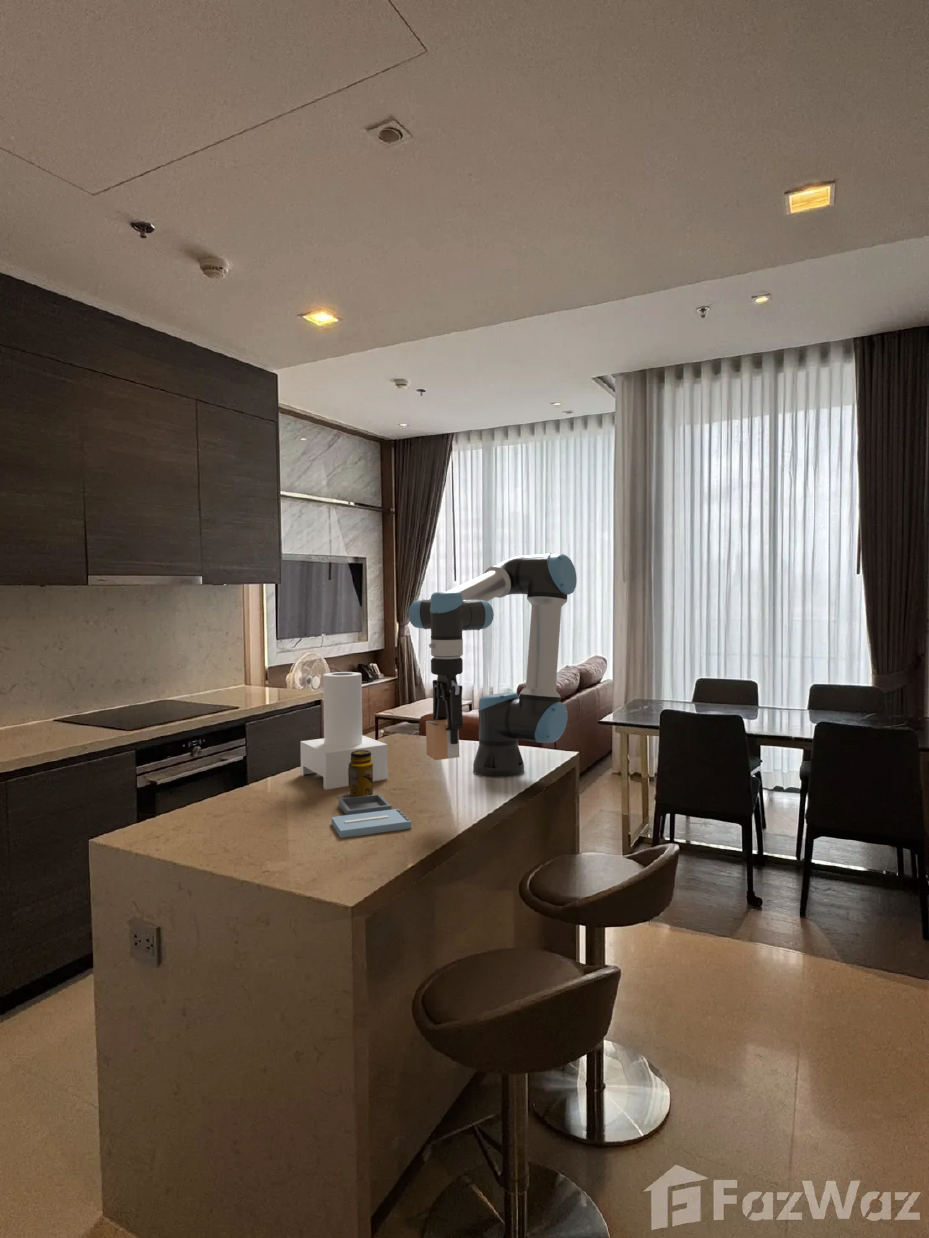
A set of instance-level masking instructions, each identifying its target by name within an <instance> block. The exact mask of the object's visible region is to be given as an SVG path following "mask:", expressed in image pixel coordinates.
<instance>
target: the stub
mask: <svg viewBox="0 0 929 1238" xmlns="http://www.w3.org/2000/svg"><path fill="white" fill-rule="evenodd" d="M445 728H448V722H447V719H446V720H436V721H435V720H427V721H425V733H426V734H425V737H426V739H425V740H426V755H427V756H428V757H430V758H431V759H433V760H434V761H440V760H447V759H450V758H447V731H446V730H445ZM458 732H459V733H460V729H459V730H458ZM455 758H458V757H454V758H453V759H455Z"/></svg>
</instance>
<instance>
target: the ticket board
mask: <svg viewBox="0 0 929 1238" xmlns="http://www.w3.org/2000/svg"><path fill="white" fill-rule="evenodd" d="M330 819H331V826H332V827H333V829H334V830H335V832H336V834H338V836H339V838H340V839H344V838H351V837H357V836H358V837H360V836H366V835H373V834H378V833H379V834H381V833H387V832H394V831H401V830H409V829H412V821H411V819H410V818H409V817H408V816H407V815H406V814H405V813H404V812H403V811H402V810H401V809H400V808H391V810H384V811H376V812H368V813H360V814H352V815H339V816H338V815H337V816H331V818H330Z"/></svg>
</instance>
